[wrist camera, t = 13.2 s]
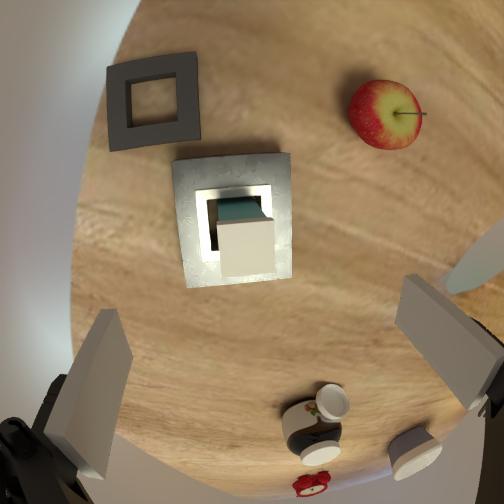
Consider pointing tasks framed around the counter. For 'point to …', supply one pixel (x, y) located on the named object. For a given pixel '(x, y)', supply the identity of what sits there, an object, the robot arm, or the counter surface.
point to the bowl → (412, 452)
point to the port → (225, 186)
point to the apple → (385, 115)
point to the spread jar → (316, 425)
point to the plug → (244, 238)
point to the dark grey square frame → (149, 70)
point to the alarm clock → (311, 484)
